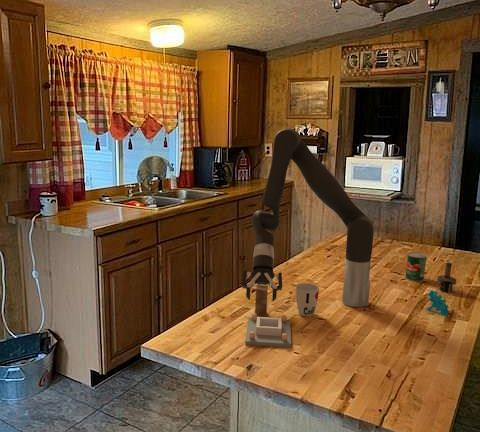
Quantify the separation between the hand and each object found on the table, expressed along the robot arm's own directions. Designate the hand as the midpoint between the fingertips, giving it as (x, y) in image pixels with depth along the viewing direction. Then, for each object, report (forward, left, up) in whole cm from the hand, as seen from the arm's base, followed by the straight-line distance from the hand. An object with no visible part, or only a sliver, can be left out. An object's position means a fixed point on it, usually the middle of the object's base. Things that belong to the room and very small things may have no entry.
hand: (261, 299), depth 174 cm
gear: (-65, -12, -6) cm, 66 cm away
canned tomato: (-66, -50, -6) cm, 83 cm away
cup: (-16, -4, -6) cm, 18 cm away
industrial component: (-75, -37, -6) cm, 84 cm away
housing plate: (-3, +14, -6) cm, 16 cm away
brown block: (0, -1, -6) cm, 6 cm away
